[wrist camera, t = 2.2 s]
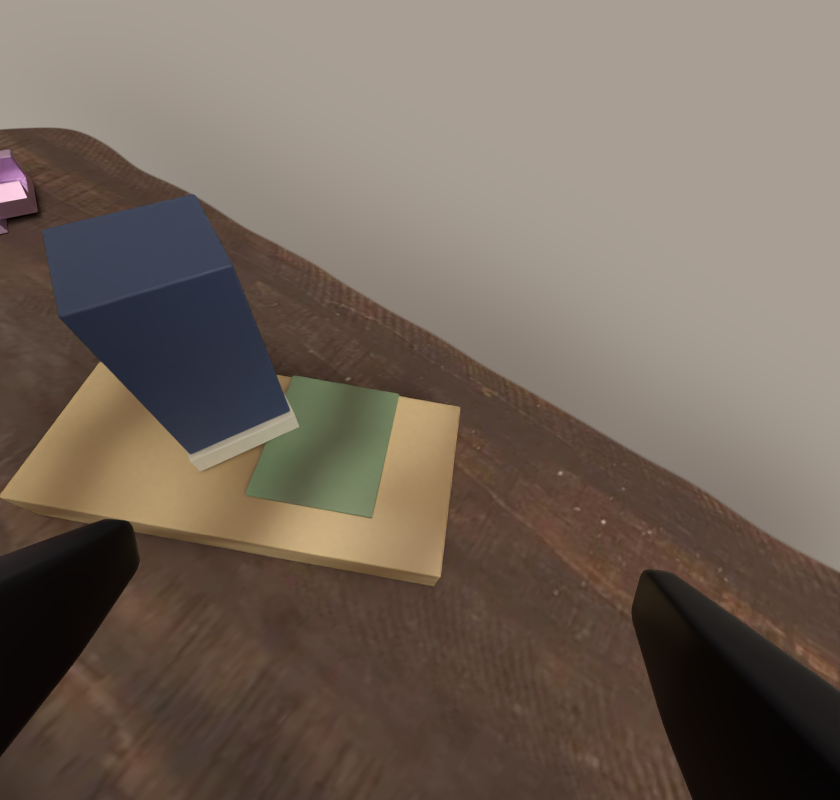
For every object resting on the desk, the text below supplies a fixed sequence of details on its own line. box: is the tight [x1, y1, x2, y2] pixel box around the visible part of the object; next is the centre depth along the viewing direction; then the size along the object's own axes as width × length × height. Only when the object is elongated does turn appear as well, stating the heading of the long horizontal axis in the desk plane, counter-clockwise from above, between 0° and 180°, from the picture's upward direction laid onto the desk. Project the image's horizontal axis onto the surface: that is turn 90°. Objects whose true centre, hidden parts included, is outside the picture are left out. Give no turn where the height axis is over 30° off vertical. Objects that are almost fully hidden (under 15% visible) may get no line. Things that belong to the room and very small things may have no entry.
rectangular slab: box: [0, 361, 460, 586], centre depth 21 cm, size 20×9×3 cm, turn 81°
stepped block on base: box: [42, 194, 299, 471], centre depth 18 cm, size 10×5×10 cm, turn 31°
